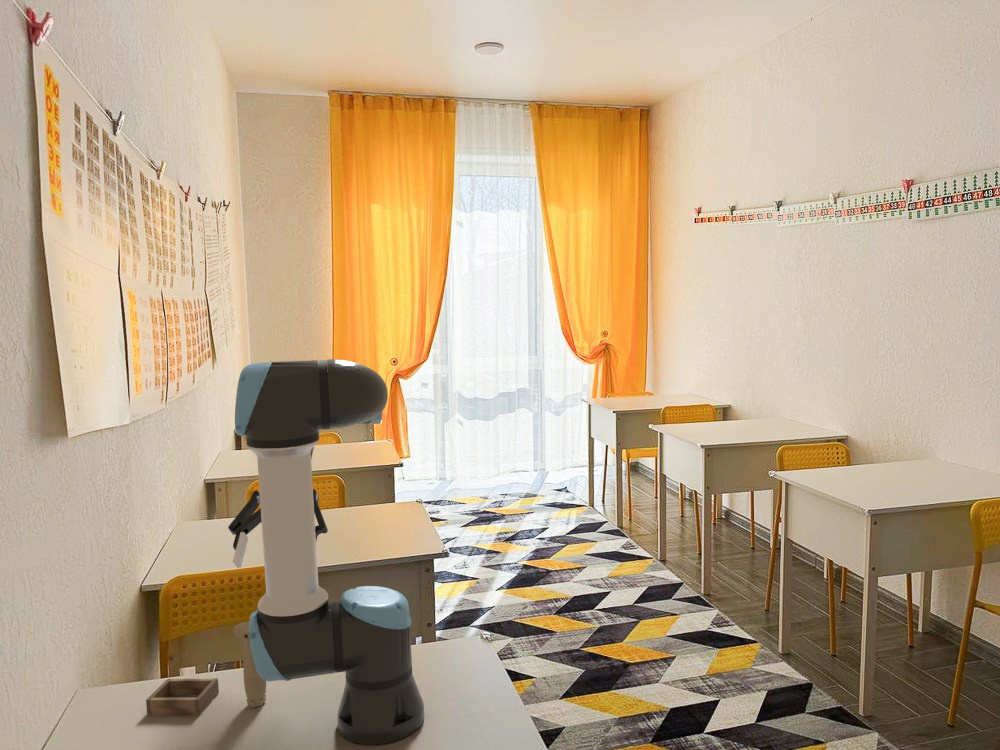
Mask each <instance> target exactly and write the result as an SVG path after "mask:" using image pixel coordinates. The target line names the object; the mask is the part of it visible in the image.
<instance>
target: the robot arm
mask: <svg viewBox="0 0 1000 750" xmlns="http://www.w3.org/2000/svg"><path fill="white" fill-rule="evenodd" d="M237 382H238V383H237V389H236V396H235V405H234V406H235V407H234V431H235V434H236V435H237V436H240V437H244V436H245V440H246V447H247V449H248V450H250V451H251V452H252V453H254V454H255V455H256V459H257V472H258V476H257V477H258V487H259V489H258V490H257V489H255V490H254V491H252V494H251V496H250V499H249V500H248V501H247V503H246V504H245V505H244V506H243V508H242V509H241V510H240V511H239V512H238V514H237V515H236V516H235V517H234V519H233V520H232V521H231V523H230V524H229V525H228V527H227V529H228V530H229V532H230V533H232V535H233V536H234V541H233V544H232V548H233V550H235V552H234V556H233V559H232V563H233V564H234V565H235V567H236V568H242V565H243V562H244V556H245V553H246V550H247V545H248V541H249V537H248V535H249V534H250V532H252V531H253V530H255V528H256V527H257V526H258V525H260V524H261V532H262V533H261V535H262V549H263V550H262V551H263V563H264V579H265V580H264V581H265V593H264V595H263V596H262V597H261V598H260V599H259V601H258V602H257V609H256V610H255V611H253V612H252V613H251V614H250V617H249V621H248V622H249V632H250V644H251V650H252V656H253V660H254V664H255V667H256V670H257V672H258V674H259V676H260V677H261V678H262V679H263V680H265V681H266V682H277V681H278V682H279V681H285V682H290V681H291V680H294V679H295V680H296V679H304V678H308V677H309V678H310V677H316V676H323V675H330V674H338V673H345V685H344V688H343V689H344V690H343V692H342V697H341V700H340V704H339V707H338V710H337V729H338V732H339V733H340V735H341V736H342V737H343V738H344V739H346V740H347V741H349V742H352V743H356V744H360V745H371V746H372V745H384V744H390V743H393V742H396V741H400V740H402V739H405V738H407V737H409V736H410V735H412V734H413V733H414V732H416V731H417V730H418V729H420V727H421V726H422V725H423V722H424V719H425V705H424V700H423V697H422V695H421V692H420V689H419V688H418V685H417V682H416V680H415V677H414V675H413V661H412V659H413V658H412V641H411V625H412V620H411V619H412V618H411V616H410V609H409V608H410V605H409V602H408V600H407V598H406V597H405V596H404V595H403V594H402V593H401V592H399V591H397V590H395V589H393V588H389V587H384V586H378V585H361V586H357V587H354V588H349V589H347V590H346V591H344V592H343V593H342V595H341V597H340V598H339V599H340V601H333V602H329V594H328V592H327V590H325V589H324V588H322V587H321V586H320V585H319V574H318V573H319V571H318V557H317V556H318V553H317V540H318V536H319V535H321V534H327V533H328V527H327V524H326V522H325V519H324V516H323V513H322V511H321V508H320V505H319V494H318V493H317V490H316V489H313V488H314V486H313V471H312V459H313V452H314V448H315V446H316V445H317V444H318V442H319V441H320V431H323V430H331V429H332V430H333V429H340V428H341V429H342V428H347V427H351V426H356V425H370V424H375V423H379V422H382V420H383V410H384V409H385V408H386V405H387V403H388V398H389V397H388V395H389V393H388V387H387V384H386V382H385V380H384V379H383V378H382V377H381V375H380V374H379V373H377V371H375V370H374V369H371V367H368V366H365V365H363V364H361V363H358V362H354V361H350V360H345V359H334V358H333V359H332V358H329V359H318V360H317V359H316V360H312V359H311V360H288V361H285V360H283V361H272V360H271V361H266V362H259V363H258V362H257V363H256V362H255V363H250V364H247V365H246V366H244V368H243V369H241V371H240V374H239V377H238V381H237ZM259 506H260V508H259ZM258 508H259V509H258ZM315 518H316V521H315ZM316 522H317V525H316Z"/></svg>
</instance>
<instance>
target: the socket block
mask: <svg viewBox="0 0 1000 750" xmlns="http://www.w3.org/2000/svg"><path fill="white" fill-rule="evenodd" d="M219 689H220V688H219V678H217V677H216V678H167V679H166V680H164V682H162V683H161V685H160V686H159V687H157V688H156V690H154V692H153V693H151V695H150V696H148V698H147V699H145V703H146V713H147V714H146V715H147V716H148V717H152V716H155V717H158V716H159V717H162V716H167V717H168V716H171V717H172V716H176V717H177V716H180V717H181V716H182V715H184V716H201V715H202V714H203V713H204V712H205V711H206V709H207V708H208V707H209V706H210V705H211V703H212V702H213V701H214V700H215V699H216V698H217V696H218V695H219V694H220V691H219ZM218 693H219V694H218ZM191 695H199V696H194V697H191ZM181 696H183V697H181ZM214 698H215V699H214ZM213 699H214V700H213ZM212 700H213V701H212ZM209 704H210V705H209ZM208 705H209V706H208ZM207 706H208V707H207ZM204 710H205V711H204ZM203 711H204V712H203ZM202 712H203V713H202ZM200 714H201V715H200Z"/></svg>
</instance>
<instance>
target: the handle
mask: <svg viewBox="0 0 1000 750" xmlns="http://www.w3.org/2000/svg"><path fill="white" fill-rule="evenodd" d="M233 635H234V637H236V638H237V639H241V640H242V645H243V646H242V647H243V650H242V651H243V686H244V693H245V696H246V704H247V706H248V705H249V707H251V708H252V707H253V708H257V707H262V706H263V705H264V703H265V702H266V700H267V699H266V698H267V695H266V692H267V681H265V680H263V679H262V678H261V677H260V676H259V674H258V672H257V670H256V667H255V664H254V660H253V656H252V650H251V644H250V632H249V621H244V622H240V623H238V624H236V625H234V627H233Z"/></svg>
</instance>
